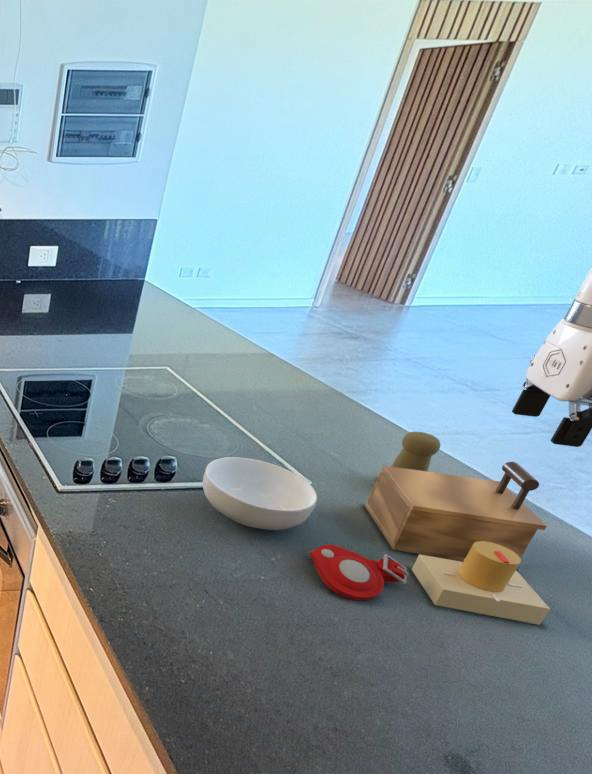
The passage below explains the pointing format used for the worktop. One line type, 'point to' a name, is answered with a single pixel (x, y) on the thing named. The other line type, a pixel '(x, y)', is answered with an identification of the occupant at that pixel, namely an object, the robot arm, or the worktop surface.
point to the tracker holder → (355, 572)
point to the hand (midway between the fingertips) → (543, 429)
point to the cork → (417, 451)
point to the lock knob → (489, 566)
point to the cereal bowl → (258, 493)
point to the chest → (436, 527)
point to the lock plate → (478, 592)
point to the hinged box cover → (468, 495)
